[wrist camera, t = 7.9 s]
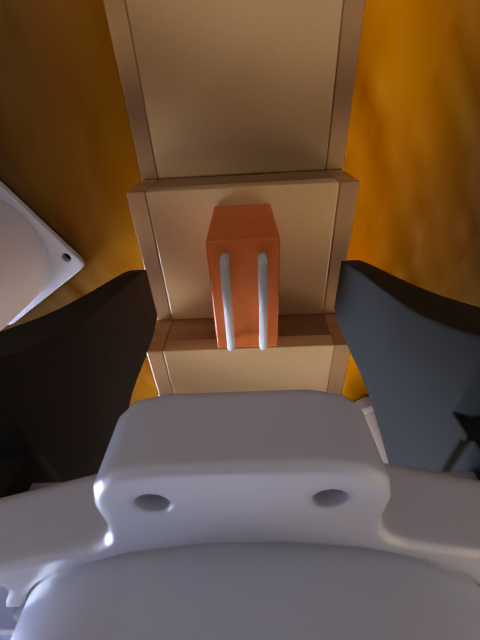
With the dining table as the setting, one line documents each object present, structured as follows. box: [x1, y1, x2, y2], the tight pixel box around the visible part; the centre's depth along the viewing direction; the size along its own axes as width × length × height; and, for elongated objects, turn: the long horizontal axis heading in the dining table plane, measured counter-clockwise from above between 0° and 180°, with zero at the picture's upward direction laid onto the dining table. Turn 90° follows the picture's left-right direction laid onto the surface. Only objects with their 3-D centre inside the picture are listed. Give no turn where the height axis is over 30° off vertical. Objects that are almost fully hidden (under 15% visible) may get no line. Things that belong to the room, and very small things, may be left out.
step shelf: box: [103, 0, 365, 396], centre depth 15 cm, size 20×10×6 cm, turn 3°
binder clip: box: [205, 204, 280, 352], centre depth 12 cm, size 4×2×5 cm, turn 3°
